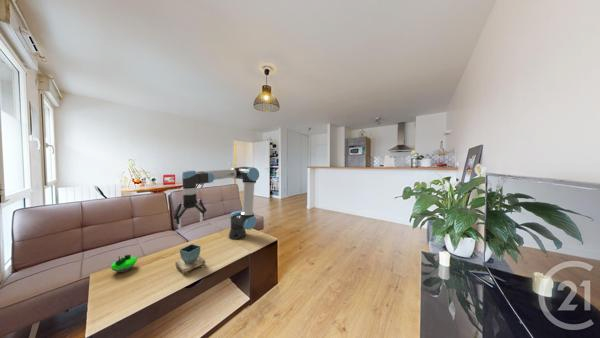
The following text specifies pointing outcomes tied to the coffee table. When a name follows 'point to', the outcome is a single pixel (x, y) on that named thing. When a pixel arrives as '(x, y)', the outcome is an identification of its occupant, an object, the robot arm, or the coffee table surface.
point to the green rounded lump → (124, 263)
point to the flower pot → (190, 253)
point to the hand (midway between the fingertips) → (191, 225)
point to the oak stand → (189, 265)
